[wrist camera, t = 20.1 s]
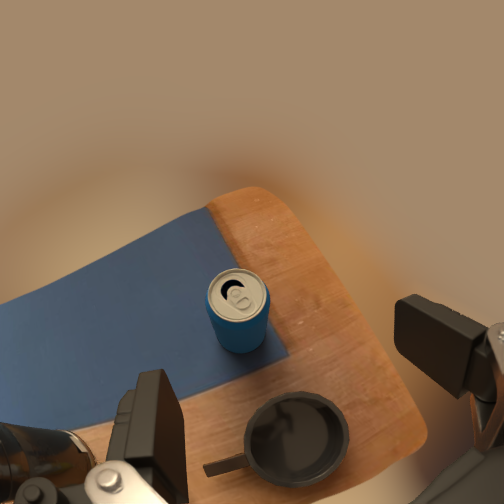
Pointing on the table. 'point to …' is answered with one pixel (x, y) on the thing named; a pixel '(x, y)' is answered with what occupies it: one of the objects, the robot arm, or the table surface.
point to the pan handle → (226, 465)
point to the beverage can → (238, 309)
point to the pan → (296, 439)
